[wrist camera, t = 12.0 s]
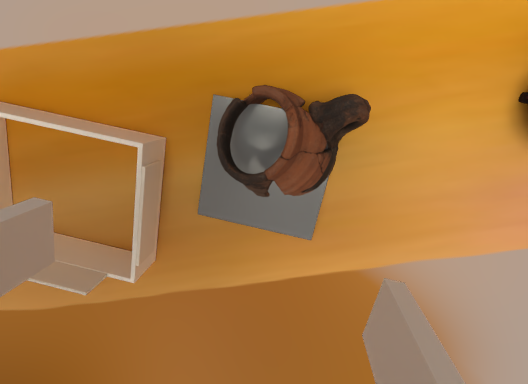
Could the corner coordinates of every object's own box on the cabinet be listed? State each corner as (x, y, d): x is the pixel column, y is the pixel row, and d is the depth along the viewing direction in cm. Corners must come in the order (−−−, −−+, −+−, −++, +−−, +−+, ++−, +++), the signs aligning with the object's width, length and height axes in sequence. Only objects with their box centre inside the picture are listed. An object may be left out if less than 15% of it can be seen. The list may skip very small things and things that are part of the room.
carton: (9, 224, 33) (-69, 256, 26) (-3, 101, 29) (-99, 100, 22) (158, 260, 32) (118, 304, 25) (169, 138, 28) (125, 149, 21)
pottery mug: (280, 214, 29) (229, 217, 22) (249, 133, 31) (193, 113, 24) (399, 155, 23) (381, 135, 16) (350, 63, 26) (316, 11, 19)
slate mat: (198, 213, 30) (197, 214, 30) (214, 94, 26) (213, 94, 26) (311, 239, 29) (311, 240, 29) (343, 121, 26) (343, 121, 25)
